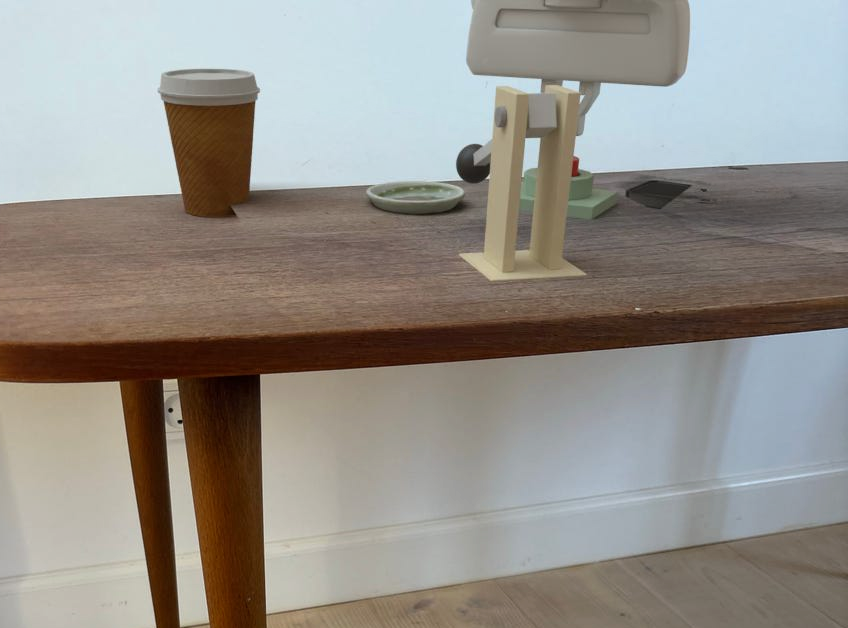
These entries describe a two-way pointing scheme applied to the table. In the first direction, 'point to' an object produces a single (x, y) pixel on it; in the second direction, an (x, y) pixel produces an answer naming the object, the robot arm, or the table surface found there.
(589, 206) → the control block
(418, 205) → the saucer
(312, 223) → the table surface
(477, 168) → the control lever
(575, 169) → the button
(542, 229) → the lever bracket
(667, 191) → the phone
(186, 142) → the disposable coffee cup
